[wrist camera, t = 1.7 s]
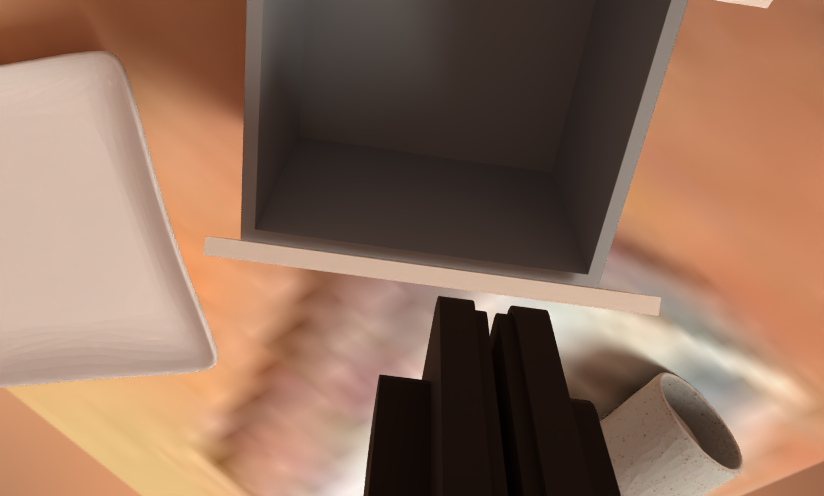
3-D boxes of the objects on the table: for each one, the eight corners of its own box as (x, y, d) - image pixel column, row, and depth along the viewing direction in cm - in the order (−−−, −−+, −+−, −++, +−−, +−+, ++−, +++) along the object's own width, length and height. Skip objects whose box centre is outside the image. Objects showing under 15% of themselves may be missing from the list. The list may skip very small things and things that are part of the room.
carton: (648, -168, 34) (742, -173, 24) (558, 179, 43) (597, 287, 32) (310, -222, 33) (253, -253, 23) (289, 141, 42) (240, 239, 32)
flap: (660, 297, 24) (658, 315, 24) (588, 286, 32) (586, 300, 32) (205, 236, 23) (202, 254, 23) (251, 241, 31) (250, 254, 31)
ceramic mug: (563, 424, 52) (583, 510, 45) (646, 352, 49) (681, 434, 42) (666, 487, 55) (699, 577, 48) (750, 424, 52) (798, 511, 45)
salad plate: (-52, 368, 52) (-82, 400, 49) (-213, 77, 42) (-263, 95, 39) (235, 342, 50) (222, 374, 47) (139, 30, 40) (115, 46, 37)
